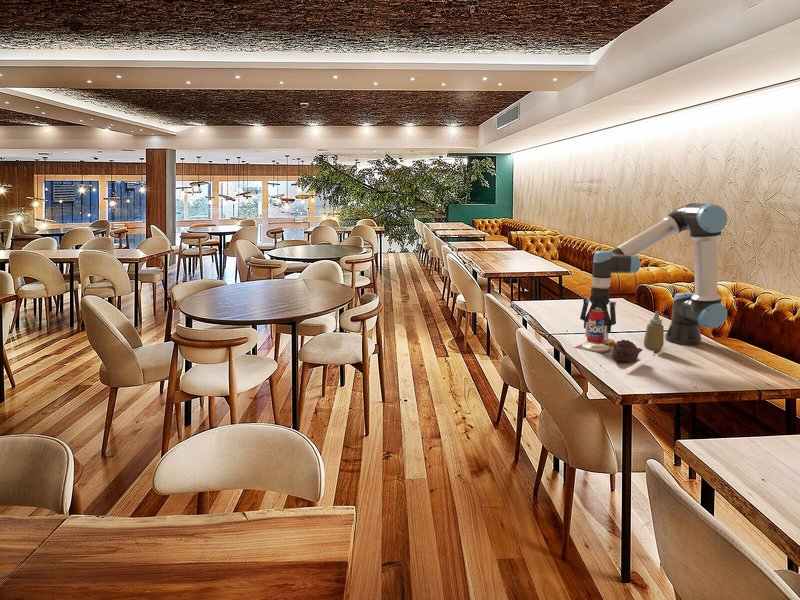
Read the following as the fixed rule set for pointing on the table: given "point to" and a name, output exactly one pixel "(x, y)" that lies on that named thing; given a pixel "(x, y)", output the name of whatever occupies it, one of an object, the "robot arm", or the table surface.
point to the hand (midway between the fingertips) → (596, 337)
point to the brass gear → (609, 342)
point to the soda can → (596, 326)
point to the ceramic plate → (595, 347)
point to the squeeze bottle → (654, 334)
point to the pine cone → (625, 351)
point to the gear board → (596, 351)
